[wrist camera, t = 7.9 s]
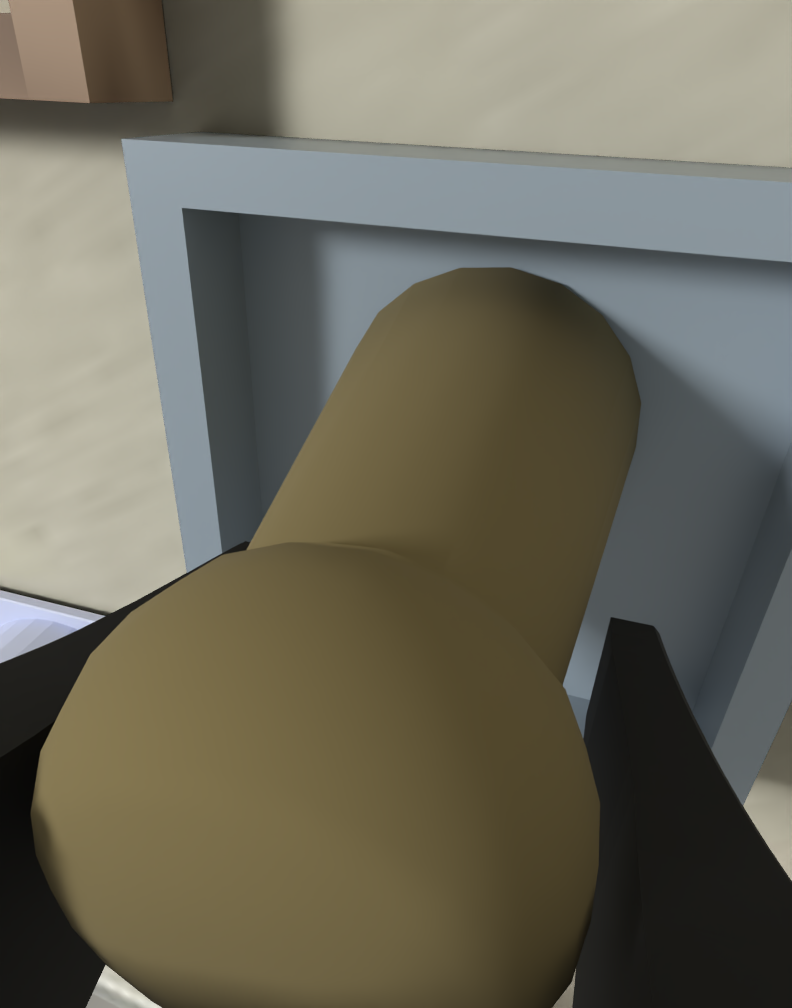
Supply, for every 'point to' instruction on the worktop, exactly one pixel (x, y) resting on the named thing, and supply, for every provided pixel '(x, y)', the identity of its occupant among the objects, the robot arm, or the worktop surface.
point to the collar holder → (84, 51)
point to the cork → (368, 690)
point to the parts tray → (536, 250)
